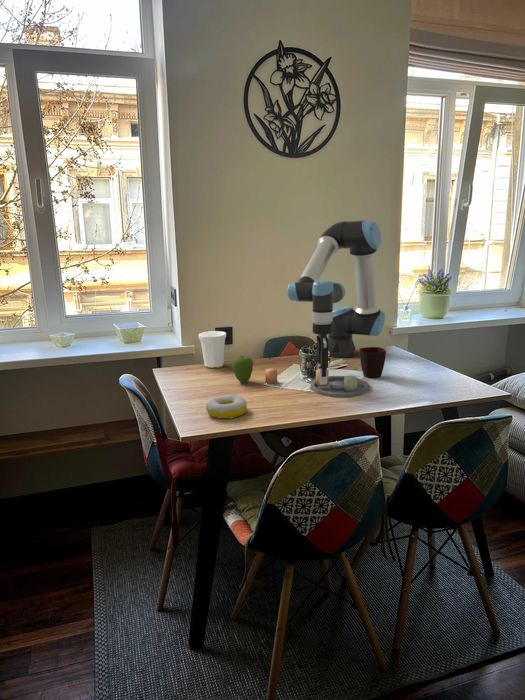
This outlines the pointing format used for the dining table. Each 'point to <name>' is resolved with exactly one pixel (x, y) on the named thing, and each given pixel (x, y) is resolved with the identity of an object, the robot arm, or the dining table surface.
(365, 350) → the mug
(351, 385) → the olive bead
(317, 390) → the groove tray
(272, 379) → the terracotta bead
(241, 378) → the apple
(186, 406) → the dining table surface
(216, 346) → the cup
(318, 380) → the terracotta bead
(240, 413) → the donut
